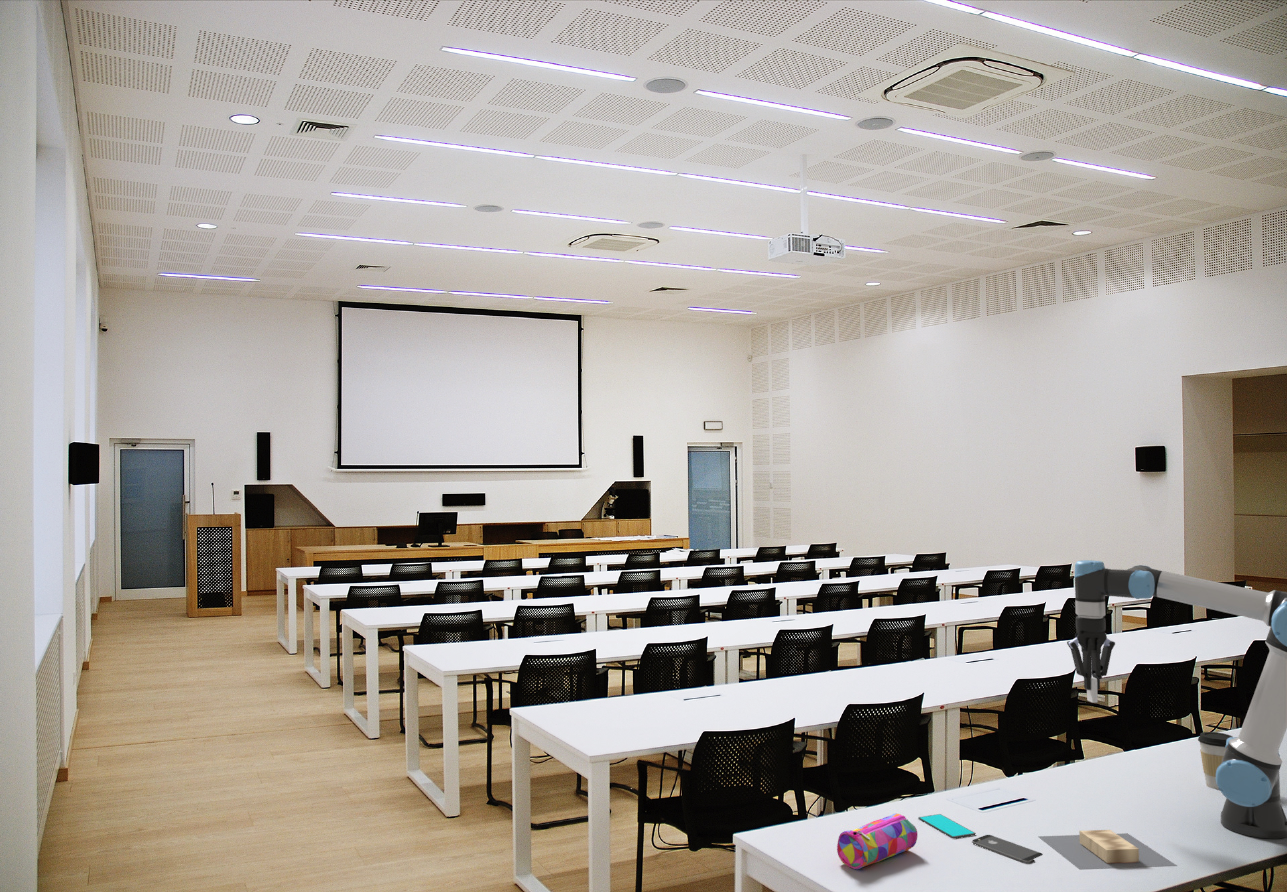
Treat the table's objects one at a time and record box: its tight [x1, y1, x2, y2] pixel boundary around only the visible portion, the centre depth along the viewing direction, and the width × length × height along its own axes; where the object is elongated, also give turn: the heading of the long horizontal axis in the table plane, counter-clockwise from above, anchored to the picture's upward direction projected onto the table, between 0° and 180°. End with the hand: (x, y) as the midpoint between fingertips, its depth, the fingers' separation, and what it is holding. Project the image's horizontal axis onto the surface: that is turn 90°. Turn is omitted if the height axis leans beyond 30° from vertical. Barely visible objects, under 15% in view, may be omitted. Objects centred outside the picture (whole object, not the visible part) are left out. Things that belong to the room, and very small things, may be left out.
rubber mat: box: [1037, 832, 1178, 870], centre depth 228 cm, size 24×20×1 cm
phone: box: [971, 834, 1044, 865], centre depth 231 cm, size 8×1×16 cm
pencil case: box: [836, 813, 918, 870], centre depth 226 cm, size 22×9×9 cm, turn 128°
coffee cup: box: [1197, 731, 1233, 790], centre depth 276 cm, size 10×10×15 cm
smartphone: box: [918, 813, 977, 839], centre depth 246 cm, size 7×1×15 cm
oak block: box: [1078, 829, 1139, 864], centre depth 227 cm, size 8×3×12 cm
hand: (1092, 701), depth 257 cm, fingers closed
